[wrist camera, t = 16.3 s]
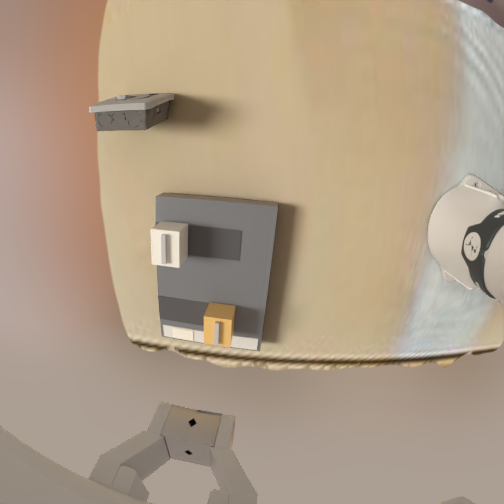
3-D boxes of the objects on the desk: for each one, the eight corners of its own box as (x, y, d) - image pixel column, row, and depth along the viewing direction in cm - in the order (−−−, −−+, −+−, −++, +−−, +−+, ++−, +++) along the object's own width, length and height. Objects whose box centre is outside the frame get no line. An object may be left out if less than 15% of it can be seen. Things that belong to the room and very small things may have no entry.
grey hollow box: (176, 93, 36) (150, 88, 28) (173, 127, 39) (146, 130, 30) (122, 95, 37) (87, 94, 28) (119, 127, 39) (85, 132, 31)
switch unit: (277, 202, 41) (277, 207, 38) (260, 340, 49) (259, 352, 46) (163, 192, 42) (155, 196, 39) (167, 326, 50) (161, 337, 47)
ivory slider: (188, 223, 40) (177, 233, 35) (187, 257, 41) (177, 269, 37) (161, 221, 40) (148, 230, 36) (162, 253, 42) (150, 266, 37)
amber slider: (235, 305, 44) (231, 322, 39) (233, 332, 45) (229, 349, 41) (209, 302, 44) (202, 318, 39) (209, 328, 46) (202, 345, 41)
